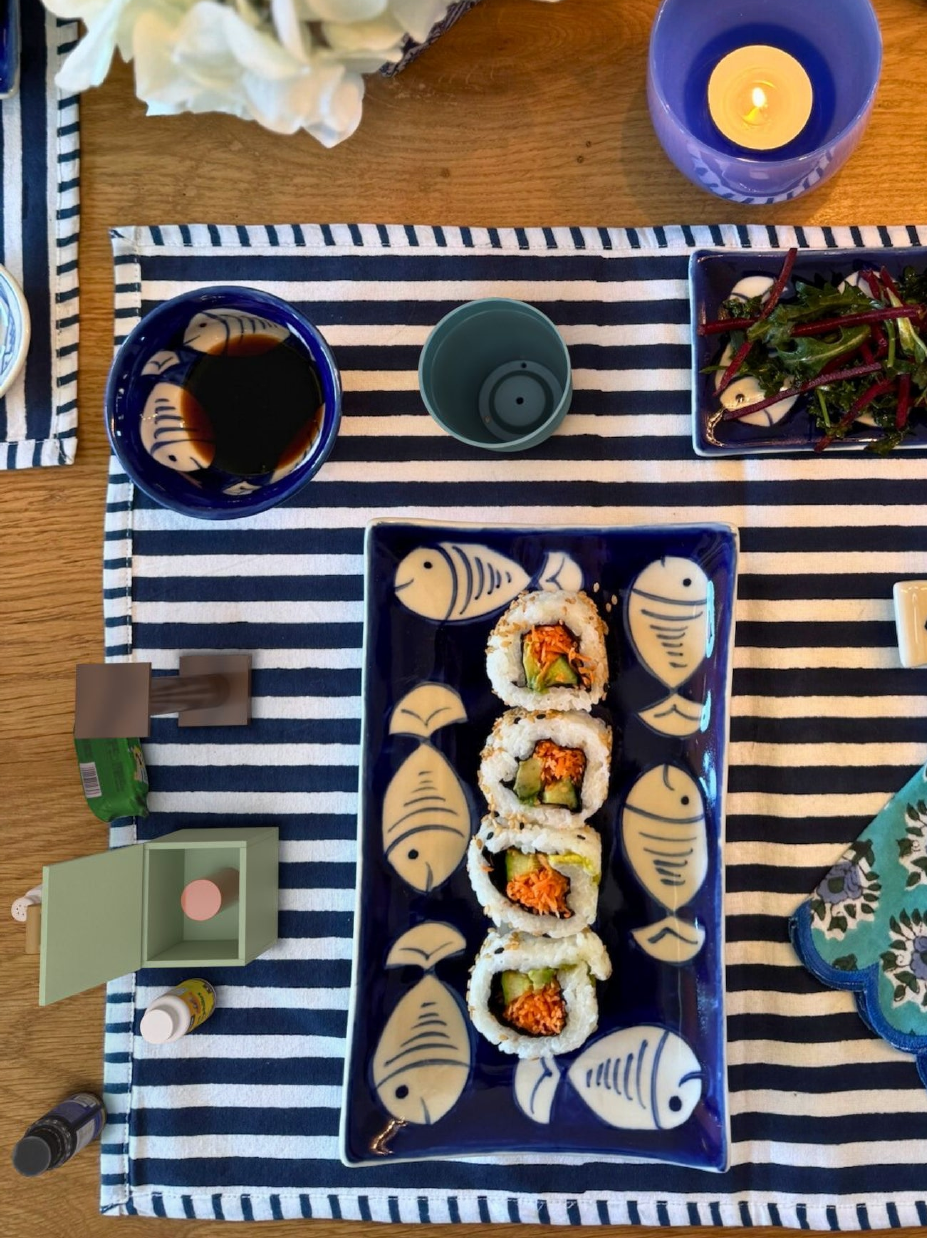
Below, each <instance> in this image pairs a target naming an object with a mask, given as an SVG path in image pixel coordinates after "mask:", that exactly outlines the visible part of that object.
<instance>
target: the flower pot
mask: <svg viewBox="0 0 927 1238" xmlns="http://www.w3.org/2000/svg"><path fill="white" fill-rule="evenodd" d="M524 364H525V367H523V365H524ZM417 378H418V381H417V382H418V386H419V392H420V396H421V399H422V402H423V404H424V406H425V408H426V410H427V412H428V413H429V415H430V416H431V418H432V419H433V421H434V422H435V423H436V424H437V425H438V426H439V427H440V428H441V429H442V430H443V431H445V432H446V433H447V434H448V435H450V436H451V437H452V438H454V439H457V440H458V441H460V442H463V443H465V444H468V445H469V446H473V447H478V448H483V449H486V450H490V451H495V452H505V453H506V452H507V453H508V452H509V453H510V452H520V451H524V450H528V449H531V448H533V447H535V446H537V445H539V444H541V443H543V442H544V441H546V440H547V439H549V438H550V437H551V436H552V435H553V434H554V433H555V432H556V431H557V430H558V429H559V427H561V425H562V423H563V421H564V420H565V418H566V416H567V415H568V412H569V411H570V410H569V409H570V407H571V403H572V397H573V387H574V386H573V383H574V382H573V374H572V365H571V356H570V353H569V350H568V346H567V344H566V341H565V339H564V337H563V335H562V333H561V332H560V330H559V328H558V327H557V326H556V324H555V323H554V322H553V321H552V320H551V319H550V318H549V317H548V316H547V315H546V314H544V313H543V312H542V311H541V310H539V309H538V308H536V307H534V306H533V305H531V304H528V303H526V302H523V301H521V300H517V299H514V298H509V297H499V296H496V297H491V296H490V297H484V298H479V299H474V300H472V301H469V302H466V303H464V304H462V305H460V306H458V307H456V308H454V309H453V310H451V311H450V312H449V313H447V314H446V315H445V316H443V318H441V319H440V321H438V322H437V323H436V325H435V326H434V327H433V329H432V330H431V331H430V333H429V335H428V336H427V338H426V340H425V342H424V345H423V347H422V350H421V352H420V356H419V360H418V368H417ZM518 399H522V400H523V402H522V403H518V402H517V400H518ZM487 418H489V419H490V420H489V421H486V419H487Z"/></svg>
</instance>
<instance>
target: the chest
mask: <svg viewBox="0 0 927 1238" xmlns="http://www.w3.org/2000/svg"><path fill="white" fill-rule="evenodd" d="M279 830H280V829H279V827H278V826H268V827H266V826H263V827H259V826H258V827H220V828H219V827H218V828H217V827H216V828H214V827H213V828H182V829H179V830H176V831H173V832H171V833H167V834H164V835H162V836H159V837H156V838H153V839H150V840H147V841H143V843H142V844H143V871H142V918H141V966H140V969H151V968H153V969H154V968H155V969H156V968H200V967H201V968H204V967H207V968H209V967H245V966H247V965H248V964H250V963H251V962H252V961H254V960H255V959H257V958H258V957H260V956H261V955H263V954H264V953H266V952H267V951H268V950H270V949H271V948H273V947H274V946H276V945H277V944H278V940H279V939H278V937H279V935H278V933H279V932H278V931H279V927H278V926H279V918H278V917H279V847H280V845H279V838H280V837H279V834H280V833H279ZM225 867H229V868H233V869H236V870H237V871H239V872H240V882H239V903H237V904H236V905H234V906H232V907H230V908H229V909H227V910H225V911H223V912H221V913H219V914H218V915H216V916H214V917H212V918H210V919H208V920H205V921H196V920H193V919H191V918H189V917H188V916H187V915H186V914H185V913H184V911H183V909H182V906H181V896H182V893H183V890H184V889H185V887H186V886H187V885H188V884H189V883H191V882H192V881H194V880H196V879H198V878H201V877H203V876H205V875H207V874H209V873H212V872H214V871H216V870H218V869H221V868H225Z"/></svg>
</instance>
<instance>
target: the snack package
mask: <svg viewBox="0 0 927 1238" xmlns="http://www.w3.org/2000/svg"><path fill="white" fill-rule="evenodd" d="M74 729H75V722H73V726H72V736H73V737H74ZM73 744H74V749H75V754H76V758H77V765H78V770H79V771H78V772H79V778H80V781H81V786H82V791H83V795H84V798H85V801H86V804H87V806H88V808H89V810H90V811H91V813H92V814H93V815H94V816H95V818H97V819H99V820H100V821H101V822H103V823H107V824H108V823H113V822H114V821H116V820H117V819H119V818H122V817H130V816H131V817H132V816H139V817H142V818H143V819H142V822H144V821H145V819H146V818H147V817H148V816H150V809H149V807H148V804H147V799H148V794H149V779H148V777H149V776H148V773H147V769H146V763H145V759H144V754H143V749H142V744H141V740H140V737H130V738H87V739H74V738H73Z"/></svg>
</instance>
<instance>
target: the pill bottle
mask: <svg viewBox="0 0 927 1238" xmlns="http://www.w3.org/2000/svg"><path fill="white" fill-rule="evenodd" d="M107 1120H108V1110H107V1107H106V1106H105V1103H104V1101H103V1100H102V1099H101V1098H100V1097H99V1096H97V1094H95V1093H92V1092H89V1091H81V1092H76V1093H74V1094H72V1095H70V1096H68V1097H67V1098H65V1100H63V1101H62V1102H60V1103H58V1104H57V1105H56V1106H55V1107H53V1108H52V1109H51V1110H49V1111H48V1112H46V1113H45V1114H44V1115H42V1116H41V1117H39V1118H38V1119H37V1120H35V1121H34V1122H33V1123H32V1124H31V1125H29V1126H28V1128H27V1129H26V1131H25V1132H24V1135H23V1137H22V1138H21V1139H19V1140H18V1141H17V1142H16V1144H15V1145H14V1147H13V1149H12V1153H11V1163H12V1165H13V1168H14V1169H15V1170H16V1172H17V1173H18V1174H20V1175H21V1176H22V1177H26V1178H36V1177H38V1176H41V1175H43V1174H44V1173H45V1172H48V1171H54V1170H56V1169H59V1168H60V1167H62V1166H63V1165H65V1164H66V1163H67V1162H68V1161H69V1160H71V1159H72V1158H73V1157H74V1156H75V1155H76V1154H78V1153H79V1152H80V1151H81V1150H83V1149H84V1148H85V1147H87V1145H88V1144H90V1143H91V1142H92V1141H93V1140H94V1139H96V1138H97V1137H99V1136H100V1134H101V1133H102V1132H103V1131H104V1129H105V1126H106V1124H107Z"/></svg>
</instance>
